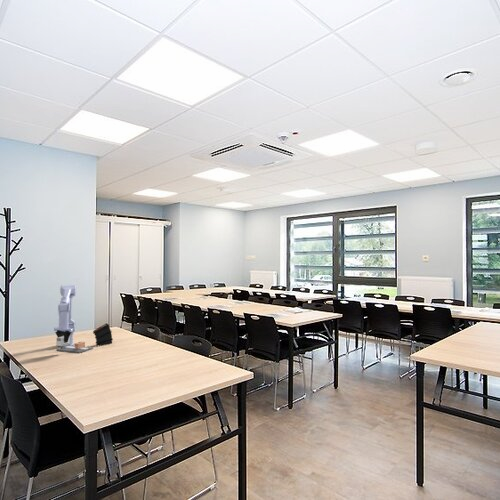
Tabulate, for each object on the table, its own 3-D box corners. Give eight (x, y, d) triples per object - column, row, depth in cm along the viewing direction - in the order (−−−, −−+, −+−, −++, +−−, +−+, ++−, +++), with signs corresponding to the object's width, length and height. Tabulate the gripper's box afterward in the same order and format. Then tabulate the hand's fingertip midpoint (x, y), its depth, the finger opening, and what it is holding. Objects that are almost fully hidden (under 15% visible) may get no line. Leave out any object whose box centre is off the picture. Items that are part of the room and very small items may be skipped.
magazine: (116, 340, 268) (108, 323, 264) (100, 350, 259) (91, 333, 255) (114, 339, 270) (106, 322, 266) (98, 349, 262) (89, 332, 258)
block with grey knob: (74, 348, 242) (74, 342, 242) (81, 346, 247) (81, 341, 247) (78, 348, 241) (78, 343, 241) (84, 347, 246) (85, 341, 247)
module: (56, 345, 232) (56, 337, 232) (65, 343, 239) (65, 335, 239) (60, 346, 231) (61, 338, 231) (69, 343, 237) (69, 336, 238)
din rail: (56, 350, 243) (56, 346, 243) (70, 346, 254) (70, 342, 254) (79, 353, 236) (79, 348, 237) (93, 349, 248) (93, 344, 248)
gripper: (50, 321, 234) (49, 342, 233) (67, 323, 229) (66, 344, 229) (59, 320, 241) (58, 340, 240) (75, 321, 236) (75, 342, 235)
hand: (63, 342), depth 235 cm, fingers closed on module, 4 cm apart
